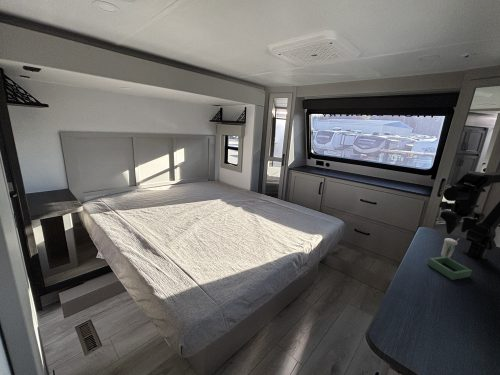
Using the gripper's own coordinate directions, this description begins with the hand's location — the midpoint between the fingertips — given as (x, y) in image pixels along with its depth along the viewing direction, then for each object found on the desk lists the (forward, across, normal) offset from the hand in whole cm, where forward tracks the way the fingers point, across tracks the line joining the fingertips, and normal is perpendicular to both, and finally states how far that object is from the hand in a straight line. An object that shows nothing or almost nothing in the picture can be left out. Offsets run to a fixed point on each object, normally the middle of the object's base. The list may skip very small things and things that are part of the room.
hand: (455, 232), depth 100 cm
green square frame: (+12, +11, +8) cm, 19 cm away
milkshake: (+13, 0, 0) cm, 13 cm away
